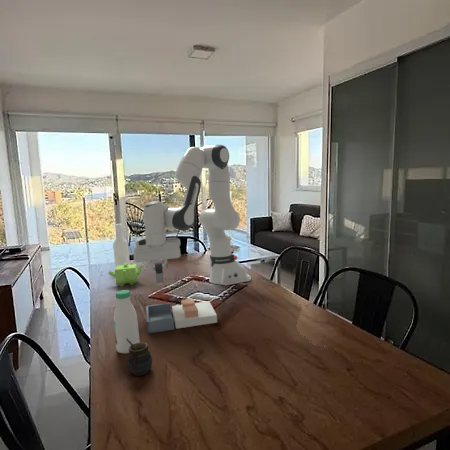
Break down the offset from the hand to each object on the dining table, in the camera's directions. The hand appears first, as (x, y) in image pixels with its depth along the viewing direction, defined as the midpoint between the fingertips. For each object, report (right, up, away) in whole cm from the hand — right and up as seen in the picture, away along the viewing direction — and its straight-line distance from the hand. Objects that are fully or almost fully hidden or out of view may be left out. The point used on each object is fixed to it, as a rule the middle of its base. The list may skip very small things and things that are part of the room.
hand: (158, 269), depth 153 cm
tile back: (+14, -14, -9) cm, 22 cm away
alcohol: (-35, -10, +65) cm, 75 cm away
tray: (+3, -19, -15) cm, 25 cm away
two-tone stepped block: (0, -4, +1) cm, 4 cm away
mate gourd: (+4, -24, -50) cm, 55 cm away
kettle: (-24, -13, +38) cm, 47 cm away
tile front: (+16, -15, -17) cm, 28 cm away
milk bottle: (-4, -22, -35) cm, 42 cm away
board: (+17, -18, -12) cm, 27 cm away
